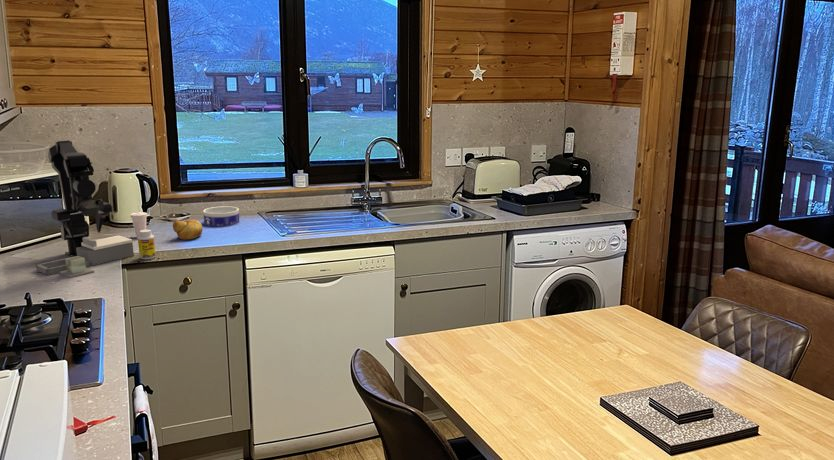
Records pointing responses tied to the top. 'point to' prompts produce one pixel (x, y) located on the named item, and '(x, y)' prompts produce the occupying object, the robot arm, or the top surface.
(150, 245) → the supplement bottle
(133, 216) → the smoothie
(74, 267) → the block
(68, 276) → the pad
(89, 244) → the cover
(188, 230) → the bread roll
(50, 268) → the grey long stepped bar
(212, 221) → the dog bowl
